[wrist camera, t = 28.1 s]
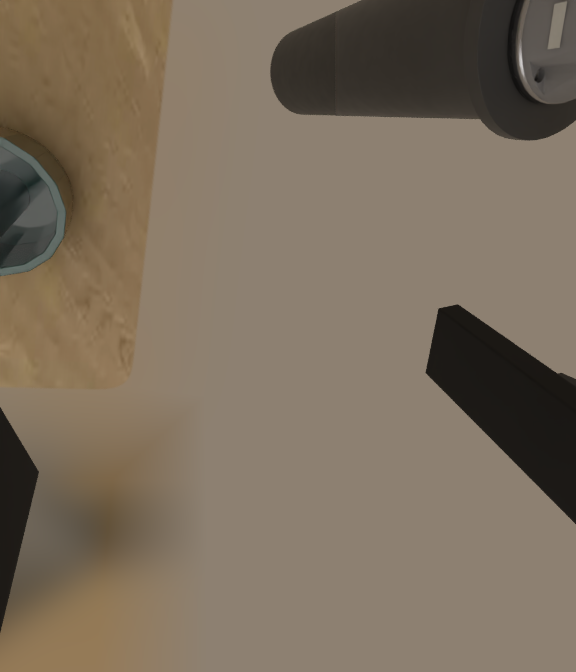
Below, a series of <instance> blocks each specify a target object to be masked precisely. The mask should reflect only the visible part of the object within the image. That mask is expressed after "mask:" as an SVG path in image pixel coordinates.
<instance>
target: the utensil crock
mask: <svg viewBox="0 0 576 672" xmlns="http://www.w3.org/2000/svg"><path fill="white" fill-rule="evenodd" d="M0 170H4V171H7V172H10V173H12V174H14V175H15V176H17V177H18V178H19V179H20V180H21V181H22V182H23V183H24V184H25V186H26V187H27V190H28V192H29V198H30V200H29V205H28V207H27V208H26V210H25V211H24V212H23V213H22V214H21V215H20V216H19V218H18V219H17V220H16V221H15V222H14V223H13V224H12V225H11V227H10V228H9V229H8V230H7V231H6V232H5V233H4V234H3V235H2V237H1V238H0V276H5V275H11V274H17V273H22V272H28V271H30V270H32V269H34V268H35V267H37V266H39V265H40V264H42V263H43V262H45V261H47V260H48V259H50V258H51V257H52V256H53V254H54V253H55V251H56V249H57V248H58V246H59V245H60V243H61V242H62V240H63V238H64V236H65V234H66V231H67V229H68V226H69V224H70V221H71V218H72V211H73V191H72V188H71V184H70V181H69V179H68V176H67V174H66V172H65V171H64V169H63V167H62V166H61V164H60V163H59V162H58V160H57V159H56V158H55V157H54V156H53V155H52V154H51V153H50V152H49V151H48V150H47V149H46V148H45V147H44V146H42V145H41V144H40V143H38V142H37V141H35V140H34V139H32V138H30V137H29V136H27V135H24V134H22V133H20V132H18V131H15V130H12V129H9V128H4V127H0Z"/></svg>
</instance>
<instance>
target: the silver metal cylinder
mask: <svg viewBox="0 0 576 672" xmlns="http://www.w3.org/2000/svg"><path fill="white" fill-rule="evenodd" d="M29 200H30V198H29V192H28V190H27V187H26V186H25V184H24V183H23V182H22V181H21V180H20V179H19V178H18V177H17V176H15V175H14V174H12V173H10V172H7V171H4V170H0V238H1V237H2V235H3V234H4V233H5V232H6V231H7V230H8V229H9V228H10V227H11V225H12V224H13V223H14V222H15V221H16V220H17V219H18V218H19V216H20V215H21V214H22V213H23V212H24V211H25V210H26V208H27V207H28V205H29Z"/></svg>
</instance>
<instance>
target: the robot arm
mask: <svg viewBox="0 0 576 672" xmlns="http://www.w3.org/2000/svg"><path fill="white" fill-rule="evenodd" d="M507 52H508V64H509V70H510V74H511V77H512V80H513V83H514V85H515V87H516V89H517V90H518V92H519V93H520V94H521V95H522V96H523V97H524V98H525V99H527V100H528V101H530V102H532V103H535V104H561V103H565V102H568V101H571V100H573V99H576V0H516V2H515V6H514V9H513V13H512V16H511V21H510V26H509V33H508V48H507ZM426 374H427V375H428V376H429V377H430V378H431V379H432V380H433V381H434V382H435V383H436V384H437V385H438V386H439V387H440V388H441V389H442V390H443V391H444V392H445V393H446V394H447V395H448V396H449V397H450V398H451V399H452V400H453V401H454V402H455V403H456V404H457V405H458V406H459V407H460V408H461V409H462V410H463V411H464V412H465V413H466V414H467V415H468V416H469V417H470V418H471V419H472V420H473V421H474V422H475V423H476V424H477V425H478V426H479V427H480V428H481V429H482V430H483V431H484V432H485V433H486V434H487V435H488V436H489V437H490V438H491V439H492V440H493V441H494V442H495V443H496V444H497V445H498V446H499V447H500V448H501V449H502V450H503V451H504V452H505V453H506V454H507V455H508V456H509V457H510V458H511V459H512V460H513V461H514V462H515V463H516V464H517V465H518V466H519V467H520V468H521V469H522V470H523V471H524V472H525V473H526V474H527V475H528V476H529V477H530V478H531V479H532V480H533V481H534V482H535V483H536V484H537V485H538V486H539V487H540V488H541V490H542V491H544V493H545V494H546V495H547V496H548V497H549V498H550V499H551V500H553V501H554V503H555V504H556V505H557V506H558V507H559V508H560V509H561V510H562V511H563V512H565V514H566V515H567V516H568V517H569V518H570V519H571V520H572V521H573V522H574V523H575V524H576V379H574V378H572V377H570V376H567V375H565V374H563V373H559V374H557V373H556V372H554V371H553V370H551V369H550V368H549V367H547V366H546V365H544V364H543V363H541V362H540V361H538V360H537V359H536V358H534V357H533V356H531V355H529V354H528V353H527V352H526V351H524V350H523V349H521V348H519V347H518V346H517V345H515V344H514V343H513V342H511V341H510V340H508V339H507V338H505V337H504V336H503V335H501V334H499V333H498V332H497V331H495V330H494V329H492V328H491V327H490V326H488V325H487V324H485V323H484V322H482V321H481V320H480V319H478V318H477V317H475V316H474V315H472V314H471V313H470V312H468V311H466V310H465V309H464V308H462V307H461V306H459V305H453V306H448V307H444V308H439V309H438V314H437V320H436V324H435V329H434V334H433V339H432V344H431V349H430V354H429V359H428V364H427V369H426ZM38 473H39V471H38V470H37V468H36V466H35V465H34V463H33V461H32V460H31V458H30V456H29V455H28V453H27V451H26V450H25V448H24V446H23V445H22V443H21V441H20V440H19V438H18V436H17V435H16V433H15V431H14V430H13V428H12V426H11V425H10V423H9V421H8V420H7V418H6V416H5V415H4V413H3V411H2V409H1V408H0V631H1V627H2V623H3V619H4V615H5V610H6V606H7V602H8V598H9V594H10V589H11V586H12V581H13V577H14V573H15V569H16V565H17V561H18V556H19V552H20V548H21V544H22V540H23V536H24V532H25V527H26V523H27V519H28V515H29V511H30V507H31V502H32V498H33V494H34V490H35V486H36V482H37V478H38Z"/></svg>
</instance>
